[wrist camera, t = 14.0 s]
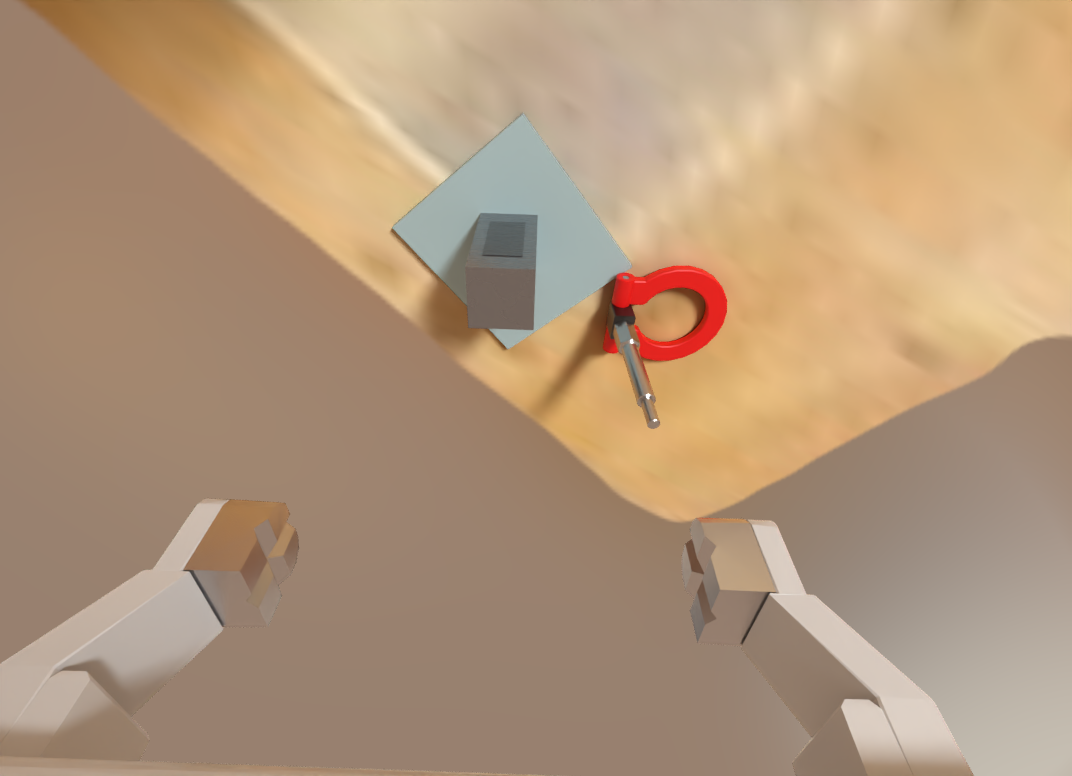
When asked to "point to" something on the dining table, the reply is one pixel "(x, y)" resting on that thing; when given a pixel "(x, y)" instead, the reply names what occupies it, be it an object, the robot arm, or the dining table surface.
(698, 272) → the tow hook
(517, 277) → the link block
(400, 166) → the dining table surface
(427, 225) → the pad
